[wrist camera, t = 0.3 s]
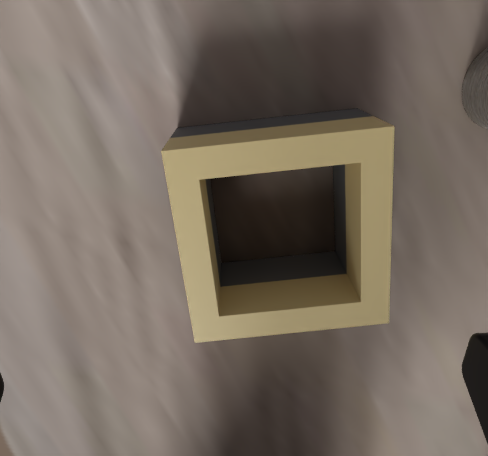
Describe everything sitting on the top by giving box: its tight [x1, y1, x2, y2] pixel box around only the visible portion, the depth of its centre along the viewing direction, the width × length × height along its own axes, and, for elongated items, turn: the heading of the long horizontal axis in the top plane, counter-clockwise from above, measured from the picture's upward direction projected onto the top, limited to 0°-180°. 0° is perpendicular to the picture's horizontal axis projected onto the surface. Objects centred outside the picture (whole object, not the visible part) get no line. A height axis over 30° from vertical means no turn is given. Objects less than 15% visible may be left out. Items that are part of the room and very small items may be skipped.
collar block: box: [161, 108, 394, 343], centre depth 20 cm, size 8×8×5 cm
